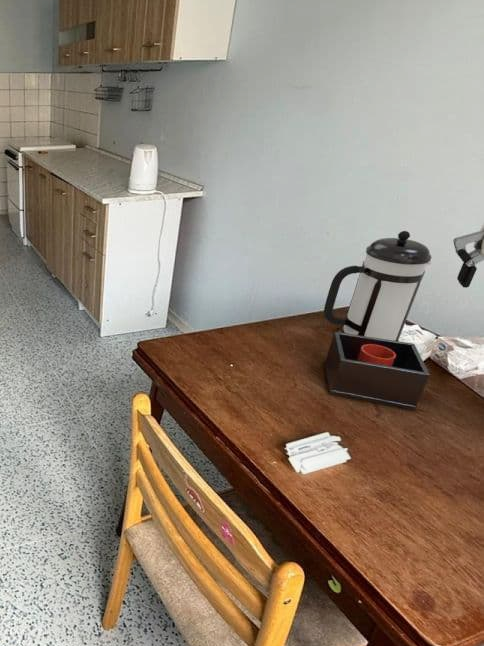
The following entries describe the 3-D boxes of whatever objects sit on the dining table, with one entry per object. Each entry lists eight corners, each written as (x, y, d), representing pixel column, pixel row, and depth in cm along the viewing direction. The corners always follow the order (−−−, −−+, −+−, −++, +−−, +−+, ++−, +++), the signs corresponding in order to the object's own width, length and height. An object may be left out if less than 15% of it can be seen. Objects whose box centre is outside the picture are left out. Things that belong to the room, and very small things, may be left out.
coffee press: (349, 322, 135) (382, 218, 120) (412, 345, 122) (457, 232, 108) (313, 339, 127) (345, 230, 113) (377, 365, 115) (421, 247, 100)
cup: (381, 377, 109) (392, 347, 105) (386, 392, 104) (398, 361, 100) (349, 371, 111) (359, 342, 107) (352, 385, 106) (363, 355, 102)
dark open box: (400, 376, 110) (414, 343, 106) (414, 410, 99) (430, 374, 95) (324, 363, 116) (334, 331, 112) (329, 393, 105) (341, 359, 101)
